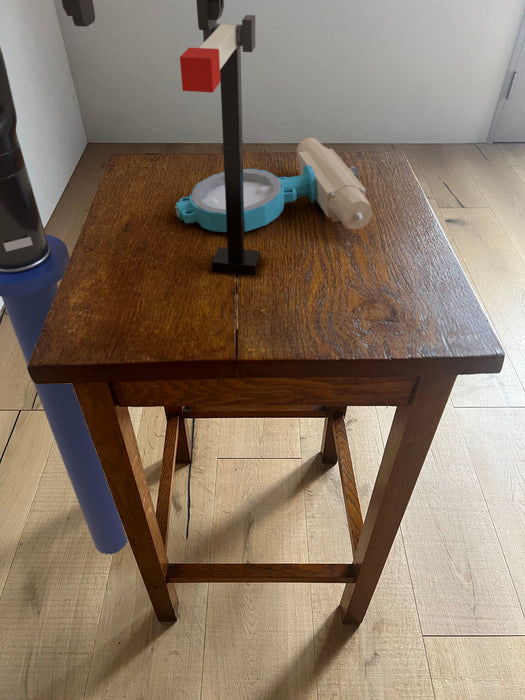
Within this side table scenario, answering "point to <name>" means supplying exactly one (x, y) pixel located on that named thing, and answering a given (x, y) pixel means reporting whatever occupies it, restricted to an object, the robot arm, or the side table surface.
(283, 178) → the butterfly valve
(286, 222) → the side table surface
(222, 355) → the side table surface
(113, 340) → the side table surface
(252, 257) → the lever post
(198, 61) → the lever
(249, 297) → the side table surface
